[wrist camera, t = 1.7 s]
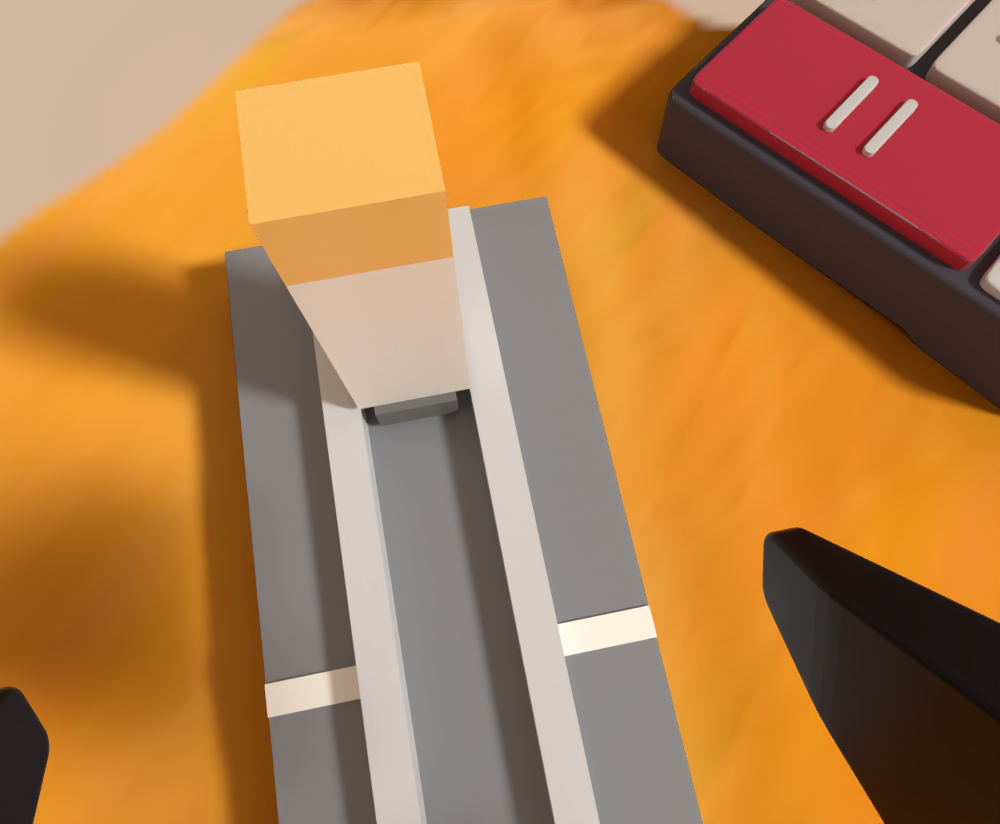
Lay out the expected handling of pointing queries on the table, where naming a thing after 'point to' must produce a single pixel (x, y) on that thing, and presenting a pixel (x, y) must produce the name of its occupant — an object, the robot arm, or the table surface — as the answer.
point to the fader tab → (361, 231)
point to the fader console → (452, 568)
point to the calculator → (865, 156)
